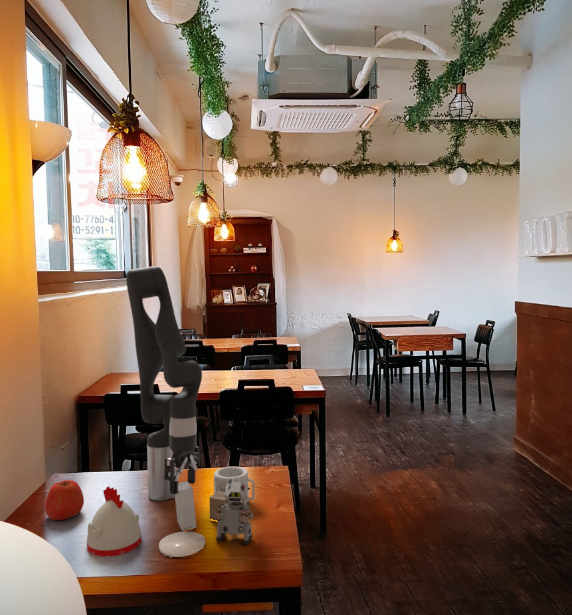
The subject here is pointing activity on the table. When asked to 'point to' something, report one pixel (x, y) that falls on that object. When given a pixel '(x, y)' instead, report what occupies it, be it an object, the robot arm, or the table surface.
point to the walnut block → (216, 503)
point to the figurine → (235, 512)
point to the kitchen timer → (113, 527)
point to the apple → (64, 500)
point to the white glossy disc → (181, 544)
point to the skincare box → (185, 506)
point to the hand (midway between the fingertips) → (182, 488)
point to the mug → (229, 473)
